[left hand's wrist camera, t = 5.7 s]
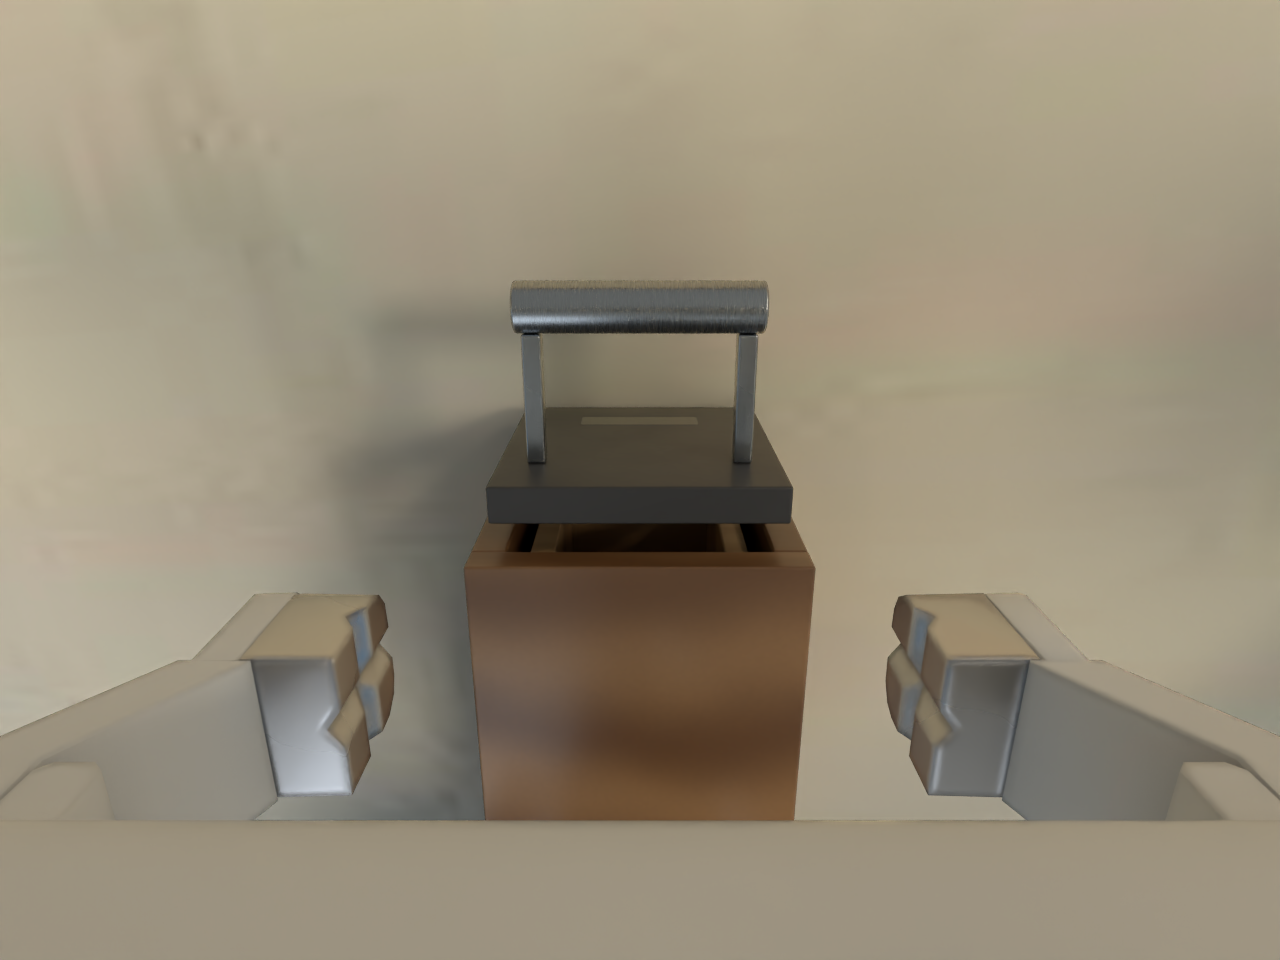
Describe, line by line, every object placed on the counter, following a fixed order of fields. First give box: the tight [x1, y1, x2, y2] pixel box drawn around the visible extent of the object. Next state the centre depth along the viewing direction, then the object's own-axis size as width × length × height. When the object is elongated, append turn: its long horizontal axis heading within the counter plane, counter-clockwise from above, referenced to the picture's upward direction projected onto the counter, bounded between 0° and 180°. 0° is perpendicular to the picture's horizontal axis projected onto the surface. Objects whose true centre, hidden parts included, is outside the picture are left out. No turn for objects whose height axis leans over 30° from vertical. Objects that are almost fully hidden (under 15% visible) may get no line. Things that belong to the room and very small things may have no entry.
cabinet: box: [464, 517, 815, 820], centre depth 32 cm, size 22×10×11 cm, turn 0°
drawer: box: [486, 281, 793, 552], centre depth 30 cm, size 26×9×9 cm, turn 0°
